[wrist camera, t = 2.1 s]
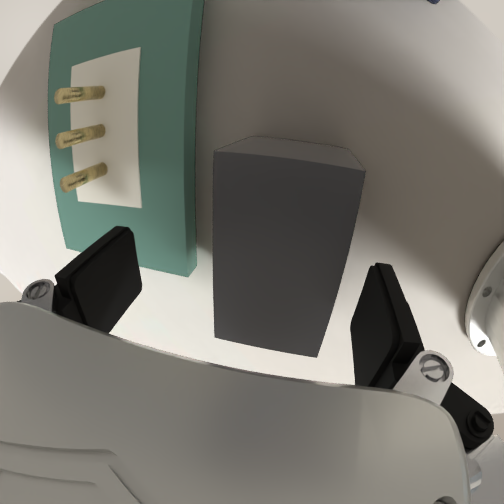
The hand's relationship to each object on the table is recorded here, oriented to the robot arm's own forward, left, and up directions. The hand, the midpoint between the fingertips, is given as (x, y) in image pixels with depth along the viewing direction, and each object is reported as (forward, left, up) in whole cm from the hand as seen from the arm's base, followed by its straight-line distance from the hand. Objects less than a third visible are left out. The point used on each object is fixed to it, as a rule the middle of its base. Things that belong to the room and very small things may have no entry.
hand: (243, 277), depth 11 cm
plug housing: (-1, 0, -7) cm, 7 cm away
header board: (+11, -5, -7) cm, 14 cm away
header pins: (+11, -5, -5) cm, 13 cm away
